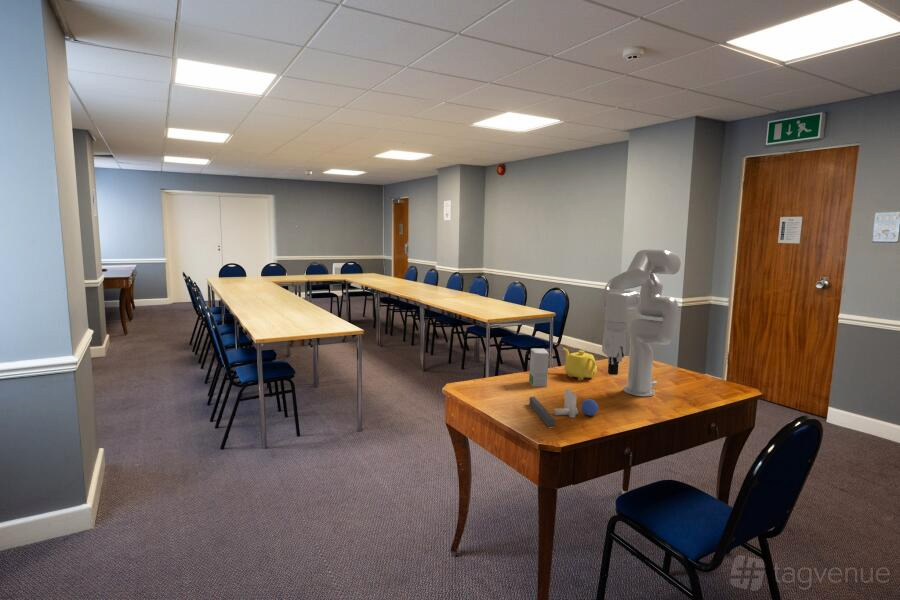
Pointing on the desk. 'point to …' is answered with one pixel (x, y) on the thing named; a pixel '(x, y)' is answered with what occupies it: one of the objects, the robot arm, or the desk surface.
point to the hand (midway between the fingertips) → (612, 374)
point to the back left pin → (572, 405)
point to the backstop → (542, 412)
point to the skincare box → (538, 367)
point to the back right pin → (567, 398)
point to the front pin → (563, 411)
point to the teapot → (580, 364)
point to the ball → (589, 407)
